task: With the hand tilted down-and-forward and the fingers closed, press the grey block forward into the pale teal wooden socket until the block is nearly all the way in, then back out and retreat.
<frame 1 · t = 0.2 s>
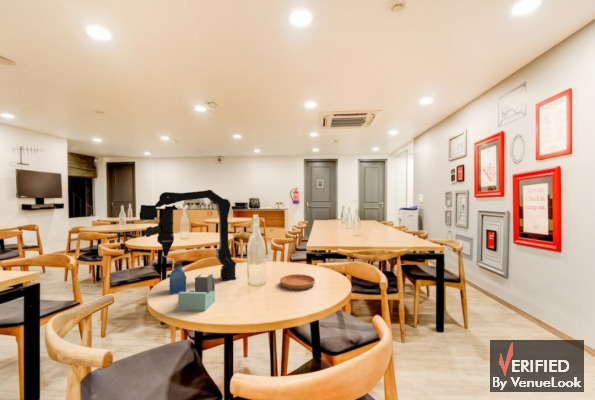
hand: (165, 254, 117), 15 cm above the table, tool pointing down, fingers open, 9 cm apart
saucer: (297, 285, 119), on the table
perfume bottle: (177, 291, 111), on the table
socket: (198, 304, 96), on the table
grey block: (204, 287, 101), point 5 cm above the table, slide at 0.0 cm
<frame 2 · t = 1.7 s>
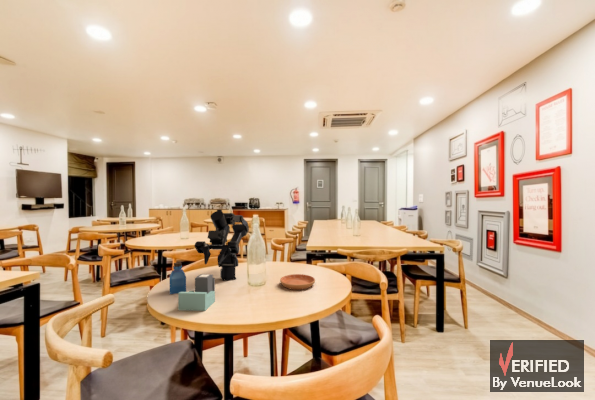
hand: (211, 264, 109), 12 cm above the table, tool tilted 45°, fingers open, 5 cm apart
nothing on the table moved.
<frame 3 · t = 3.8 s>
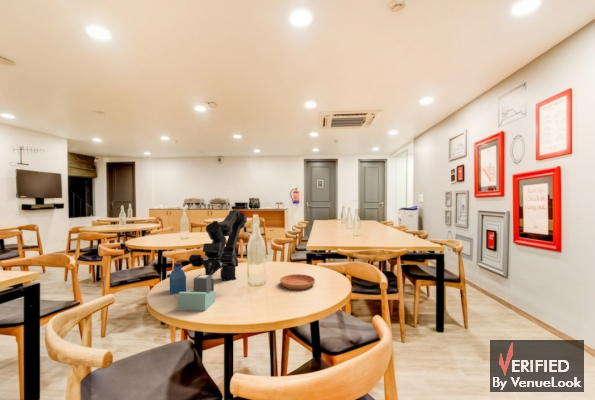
hand: (206, 278, 104), 7 cm above the table, tool tilted 45°, fingers closed, pressing on grey block
grey block: (203, 287, 100), point 5 cm above the table, slide at 0.9 cm, touching gripper
everything else where it was.
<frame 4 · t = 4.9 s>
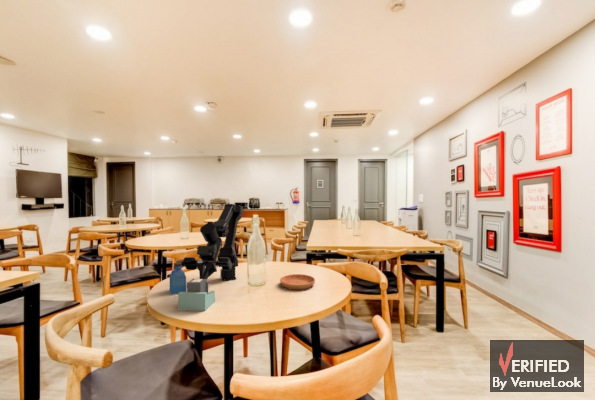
hand: (201, 283, 98), 7 cm above the table, tool tilted 45°, fingers closed, pressing on grey block
grey block: (197, 292, 95), point 5 cm above the table, slide at 6.1 cm, touching gripper, socket
everything else where it was.
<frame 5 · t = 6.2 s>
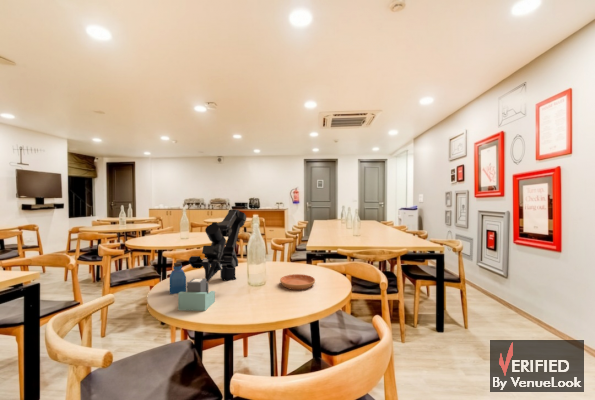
hand: (206, 281, 104), 7 cm above the table, tool tilted 45°, fingers closed
grey block: (197, 292, 95), point 5 cm above the table, slide at 6.0 cm
everything else where it was.
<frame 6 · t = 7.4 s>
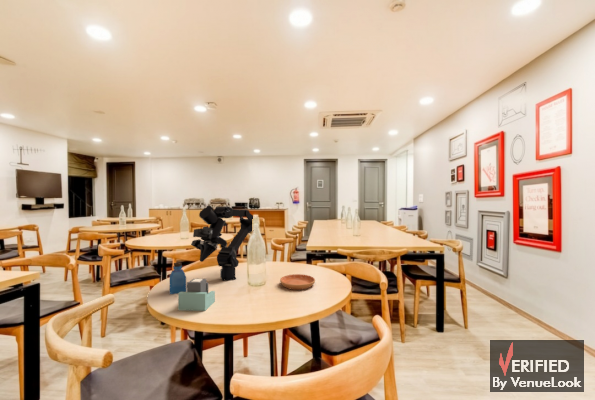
hand: (201, 261, 111), 13 cm above the table, tool tilted 35°, fingers closed
nothing on the table moved.
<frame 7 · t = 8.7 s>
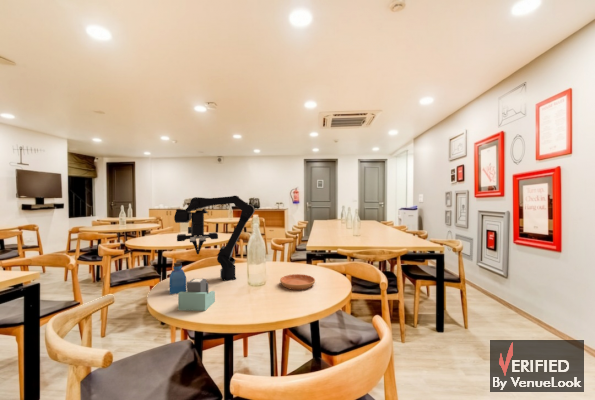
hand: (197, 254, 128), 12 cm above the table, tool pointing down, fingers closed
nothing on the table moved.
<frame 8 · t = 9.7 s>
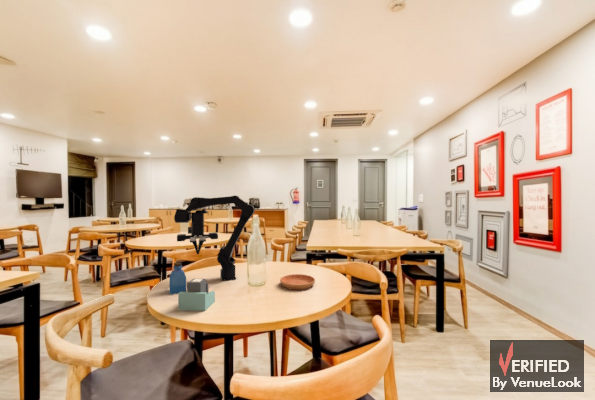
hand: (197, 254, 128), 12 cm above the table, tool pointing down, fingers closed
nothing on the table moved.
at the end: grey block slide at 6.0 cm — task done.
